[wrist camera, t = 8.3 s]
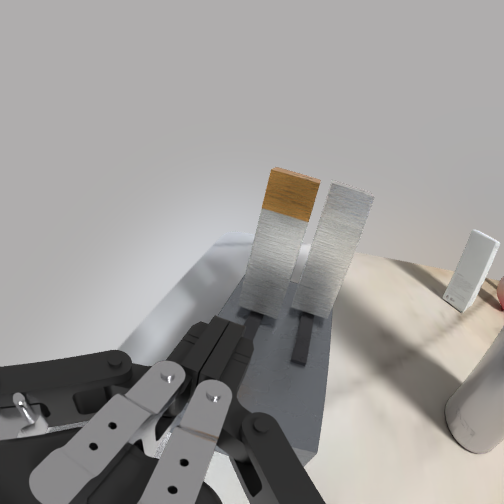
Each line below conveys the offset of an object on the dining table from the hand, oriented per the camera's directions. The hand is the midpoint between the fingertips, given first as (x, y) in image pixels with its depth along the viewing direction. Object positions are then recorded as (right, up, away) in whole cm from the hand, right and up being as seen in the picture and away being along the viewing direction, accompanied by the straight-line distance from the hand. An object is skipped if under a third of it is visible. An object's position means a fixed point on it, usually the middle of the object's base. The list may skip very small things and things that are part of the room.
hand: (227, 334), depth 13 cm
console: (+2, -7, +12) cm, 14 cm away
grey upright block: (+7, -1, +15) cm, 16 cm away
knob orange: (+2, -1, +13) cm, 13 cm away
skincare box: (+42, -6, +34) cm, 55 cm away
